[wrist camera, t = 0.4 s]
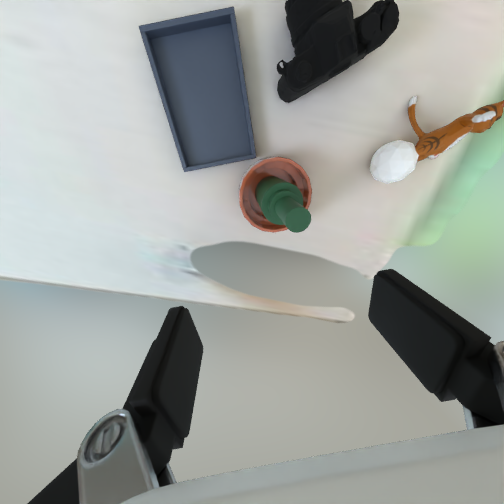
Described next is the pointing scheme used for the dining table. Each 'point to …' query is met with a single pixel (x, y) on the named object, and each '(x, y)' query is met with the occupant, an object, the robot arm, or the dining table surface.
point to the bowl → (265, 168)
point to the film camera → (330, 40)
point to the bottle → (282, 203)
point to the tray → (202, 87)
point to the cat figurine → (428, 142)
